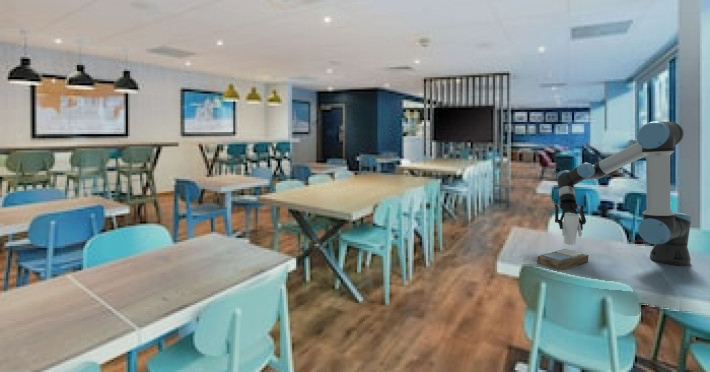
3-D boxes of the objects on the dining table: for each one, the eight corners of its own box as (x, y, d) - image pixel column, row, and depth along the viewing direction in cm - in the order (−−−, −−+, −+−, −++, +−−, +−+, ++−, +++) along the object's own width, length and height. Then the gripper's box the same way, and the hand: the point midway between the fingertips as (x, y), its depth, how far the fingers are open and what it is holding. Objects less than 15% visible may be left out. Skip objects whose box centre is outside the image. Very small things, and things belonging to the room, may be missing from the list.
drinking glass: (578, 245, 202) (581, 216, 199) (564, 245, 203) (566, 215, 201) (574, 241, 208) (576, 213, 206) (560, 241, 210) (562, 212, 207)
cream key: (582, 260, 190) (582, 253, 190) (572, 263, 186) (573, 256, 186) (565, 255, 197) (566, 248, 197) (556, 258, 193) (556, 251, 192)
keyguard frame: (588, 261, 190) (588, 255, 189) (561, 270, 179) (561, 263, 178) (564, 254, 199) (564, 248, 199) (537, 262, 188) (537, 256, 188)
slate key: (570, 263, 185) (570, 256, 185) (559, 267, 181) (560, 260, 180) (553, 259, 192) (554, 252, 191) (543, 262, 188) (543, 255, 187)
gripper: (585, 201, 215) (592, 240, 202) (545, 199, 220) (549, 237, 207) (589, 193, 209) (596, 232, 196) (548, 191, 214) (552, 229, 201)
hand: (572, 234), depth 201 cm, fingers closed on drinking glass, 6 cm apart
